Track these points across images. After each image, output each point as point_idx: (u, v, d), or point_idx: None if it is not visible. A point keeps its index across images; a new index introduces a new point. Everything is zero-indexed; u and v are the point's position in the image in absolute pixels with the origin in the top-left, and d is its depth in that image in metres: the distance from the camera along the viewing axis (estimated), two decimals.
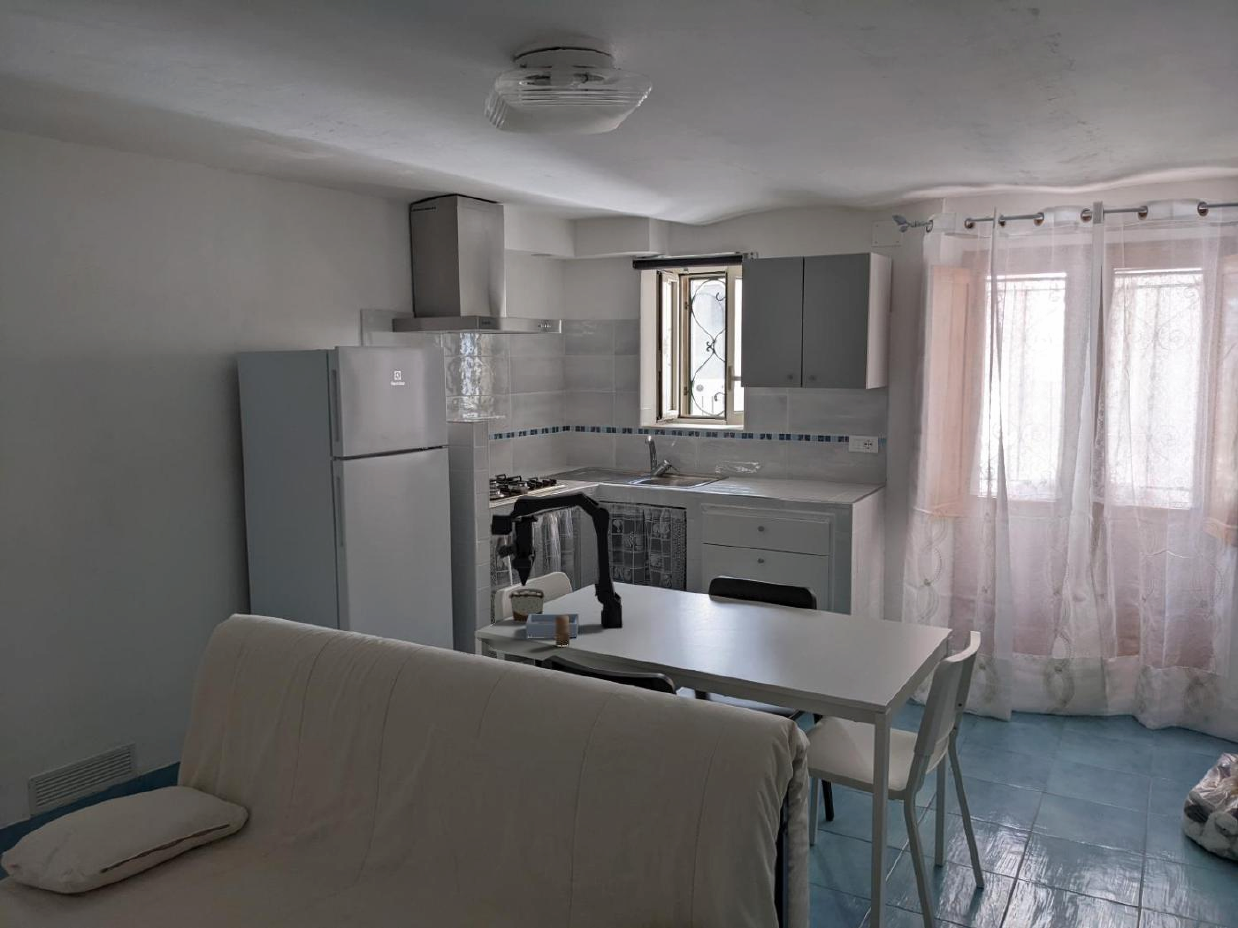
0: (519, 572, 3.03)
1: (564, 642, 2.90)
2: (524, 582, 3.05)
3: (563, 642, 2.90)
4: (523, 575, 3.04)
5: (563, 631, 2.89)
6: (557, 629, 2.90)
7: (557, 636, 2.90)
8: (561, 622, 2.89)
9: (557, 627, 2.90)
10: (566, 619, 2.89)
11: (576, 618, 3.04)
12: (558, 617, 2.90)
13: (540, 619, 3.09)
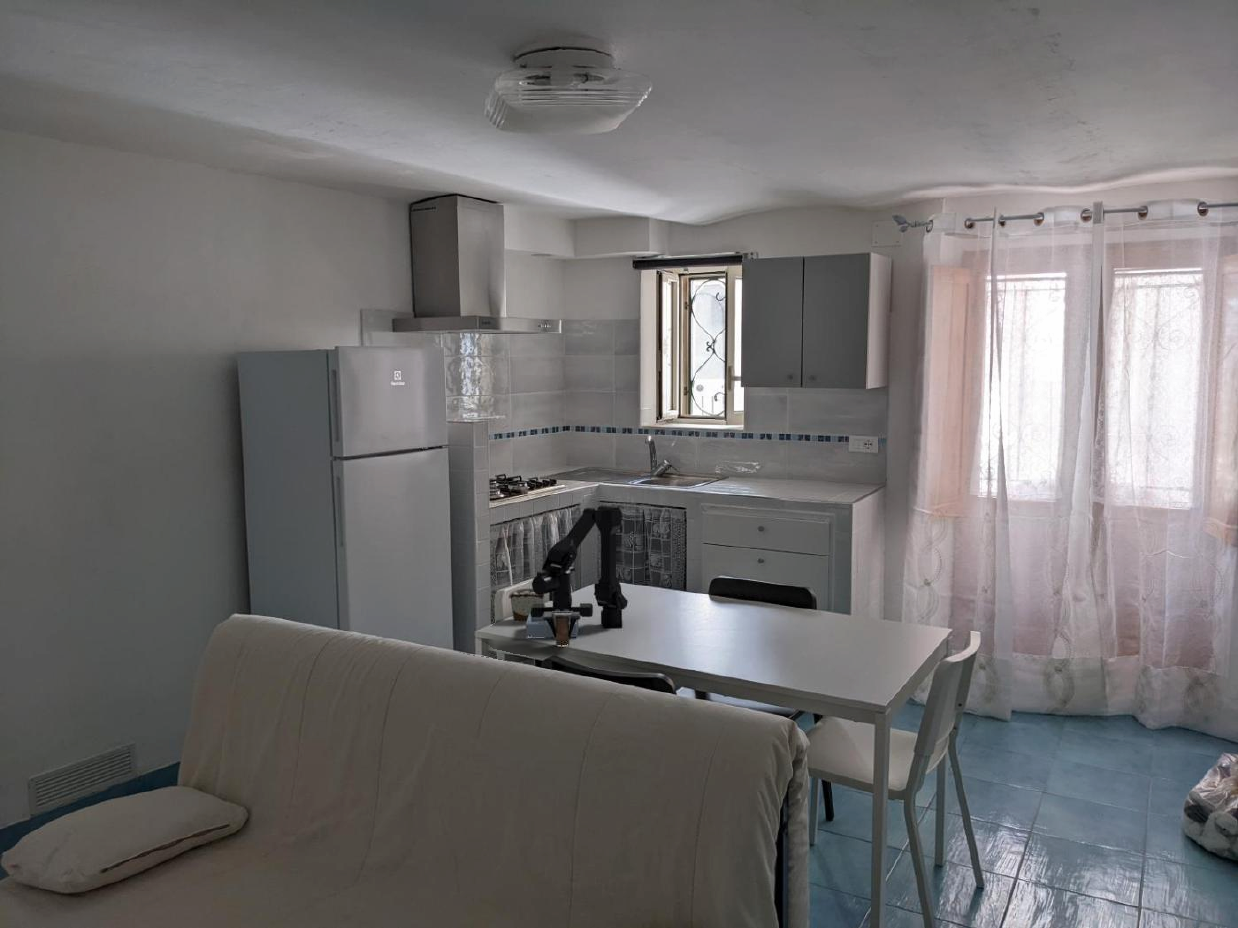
0: None
1: (564, 642, 2.90)
2: None
3: (563, 642, 2.90)
4: None
5: (563, 631, 2.89)
6: (557, 629, 2.90)
7: (557, 636, 2.90)
8: (561, 622, 2.89)
9: (557, 627, 2.90)
10: (566, 619, 2.89)
11: None
12: (558, 617, 2.90)
13: (540, 619, 3.09)
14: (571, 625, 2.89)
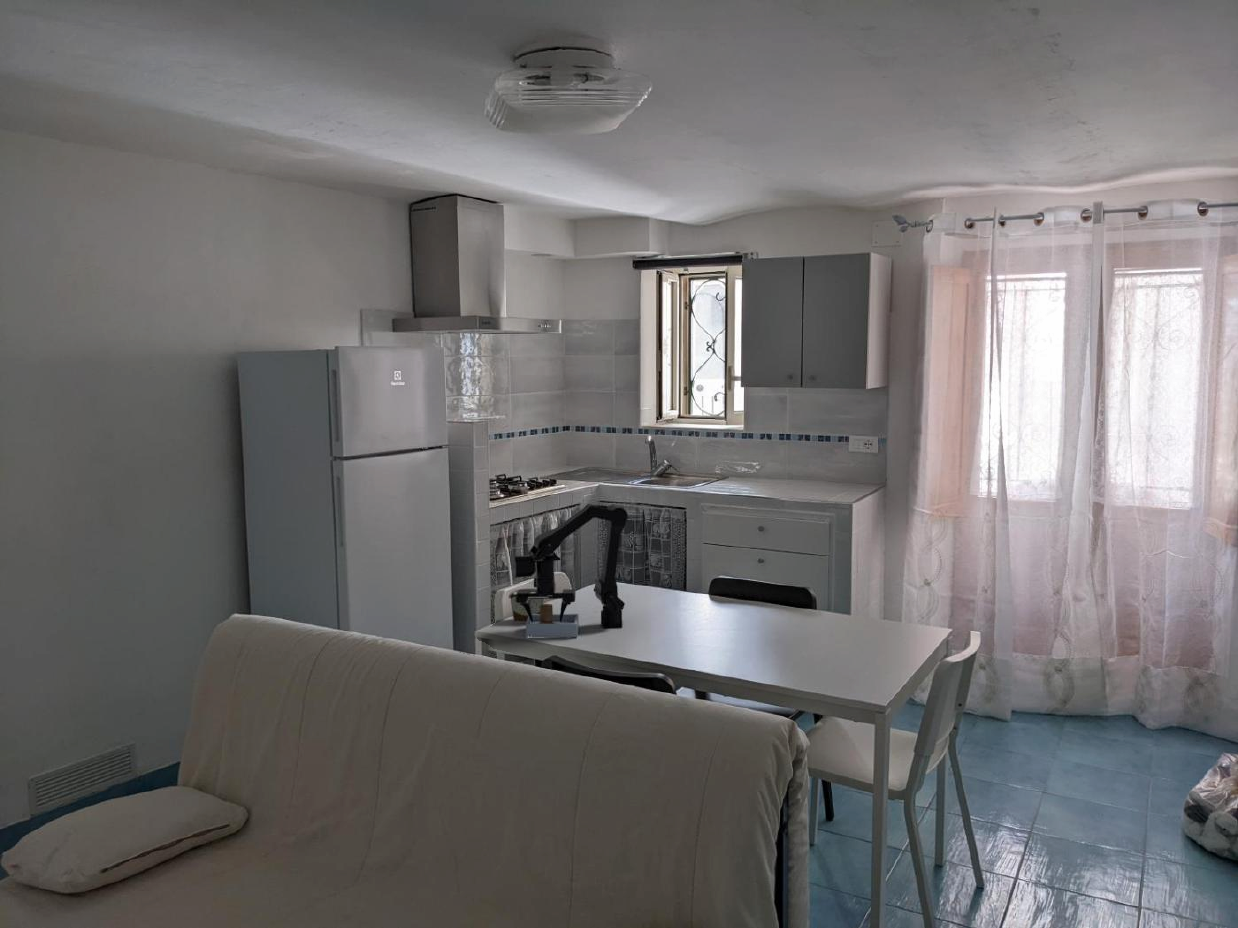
0: None
1: None
2: None
3: None
4: None
5: (547, 619, 3.02)
6: (541, 617, 3.02)
7: None
8: (545, 610, 3.01)
9: (541, 615, 3.02)
10: (550, 607, 3.02)
11: (576, 618, 3.04)
12: (542, 606, 3.02)
13: None
14: (562, 610, 3.01)
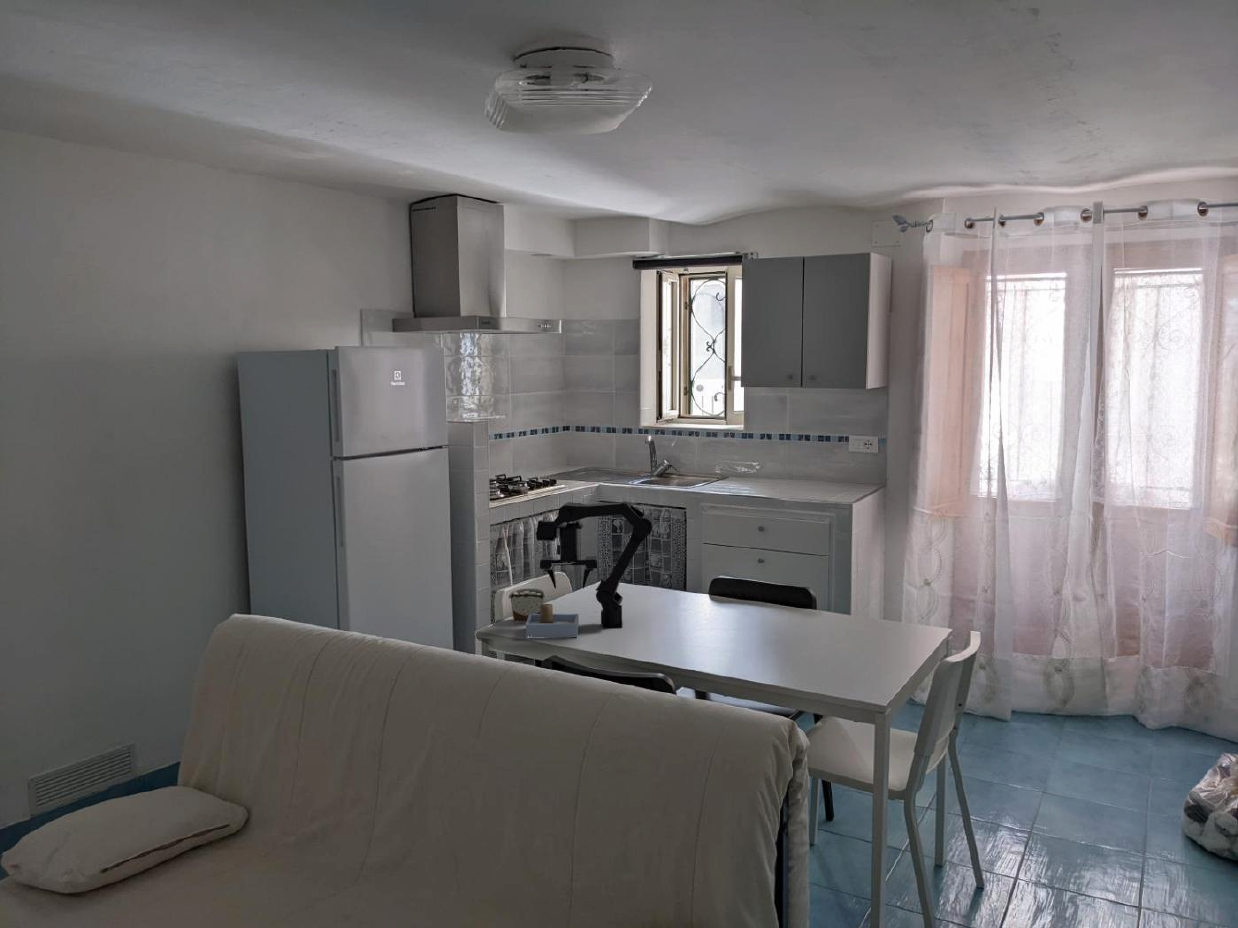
0: None
1: None
2: None
3: None
4: None
5: (547, 619, 3.02)
6: (541, 617, 3.02)
7: None
8: (545, 610, 3.01)
9: (541, 615, 3.02)
10: (550, 607, 3.02)
11: (576, 618, 3.04)
12: (542, 606, 3.02)
13: None
14: (585, 576, 3.09)
